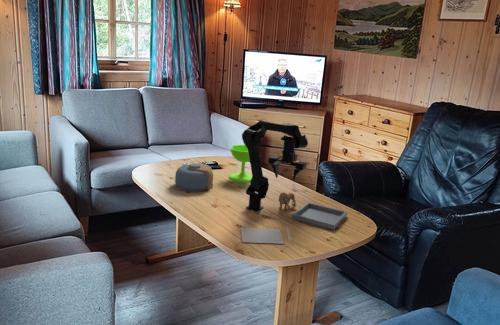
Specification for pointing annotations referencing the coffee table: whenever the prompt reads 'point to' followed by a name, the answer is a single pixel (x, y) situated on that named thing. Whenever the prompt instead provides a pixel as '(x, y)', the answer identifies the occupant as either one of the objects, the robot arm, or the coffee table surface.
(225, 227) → the coffee table surface
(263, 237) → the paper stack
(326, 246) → the coffee table surface
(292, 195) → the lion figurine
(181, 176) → the alarm clock
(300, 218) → the tray
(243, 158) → the wineglass
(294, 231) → the coffee table surface
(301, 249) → the coffee table surface
